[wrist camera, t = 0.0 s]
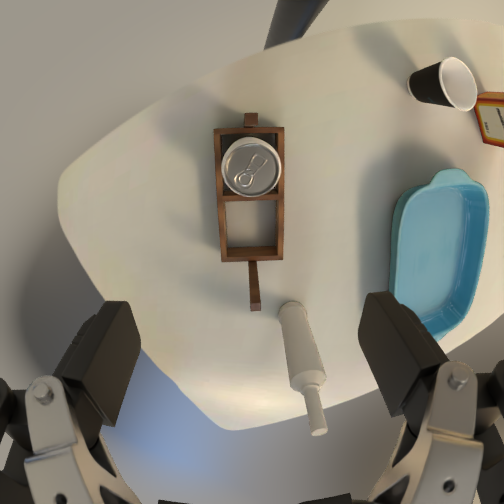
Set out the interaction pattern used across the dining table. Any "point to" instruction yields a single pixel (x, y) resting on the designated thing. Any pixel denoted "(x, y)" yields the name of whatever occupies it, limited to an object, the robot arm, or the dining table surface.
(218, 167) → the frame
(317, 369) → the bottle
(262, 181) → the can
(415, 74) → the dixie cup
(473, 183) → the casserole dish
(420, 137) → the dining table surface
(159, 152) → the dining table surface
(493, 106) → the baking soda box
